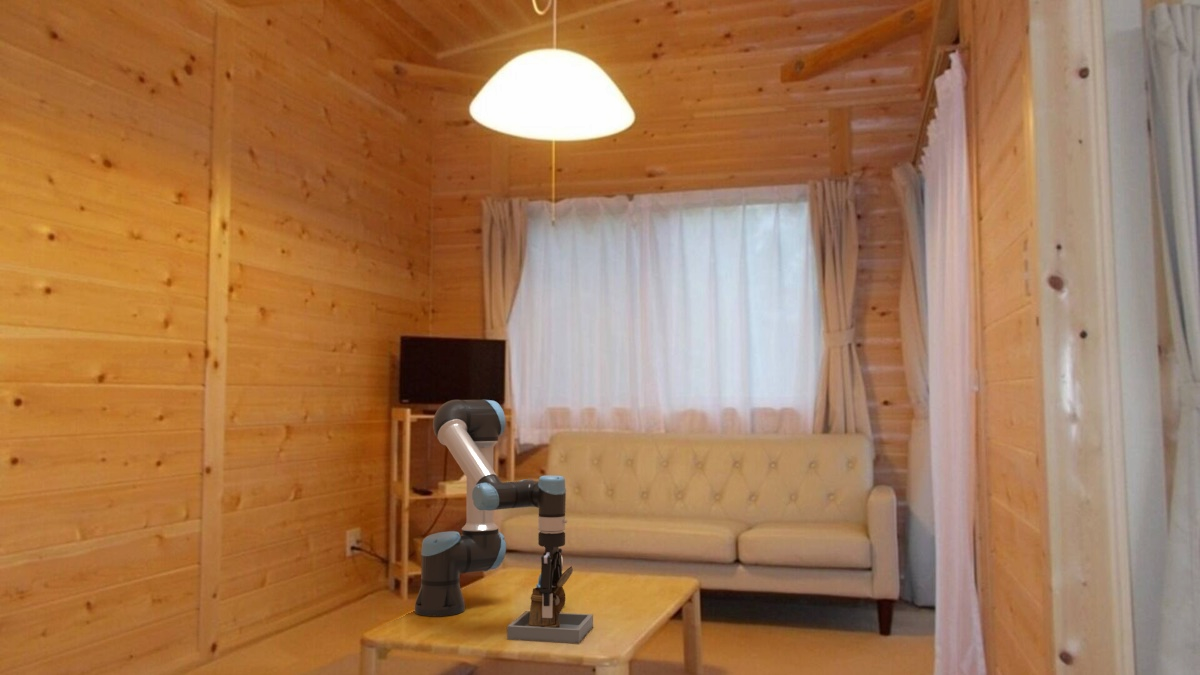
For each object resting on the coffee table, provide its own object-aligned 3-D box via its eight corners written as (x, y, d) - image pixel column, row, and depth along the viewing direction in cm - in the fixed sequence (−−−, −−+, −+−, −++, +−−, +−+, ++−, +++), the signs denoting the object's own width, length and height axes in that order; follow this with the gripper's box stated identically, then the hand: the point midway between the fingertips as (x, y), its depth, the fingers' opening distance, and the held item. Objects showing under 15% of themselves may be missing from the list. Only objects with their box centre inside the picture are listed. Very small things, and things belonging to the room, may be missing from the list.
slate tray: (507, 639, 242) (507, 626, 242) (525, 623, 259) (525, 610, 259) (579, 643, 238) (579, 630, 238) (593, 626, 255) (593, 614, 255)
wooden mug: (565, 636, 241) (565, 568, 243) (521, 631, 247) (521, 565, 248) (579, 629, 249) (579, 563, 251) (536, 625, 255) (536, 560, 257)
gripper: (555, 537, 239) (555, 623, 238) (573, 526, 260) (573, 606, 258) (528, 536, 241) (527, 622, 239) (548, 525, 261) (547, 604, 260)
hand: (551, 613), depth 249 cm, fingers open, 8 cm apart
